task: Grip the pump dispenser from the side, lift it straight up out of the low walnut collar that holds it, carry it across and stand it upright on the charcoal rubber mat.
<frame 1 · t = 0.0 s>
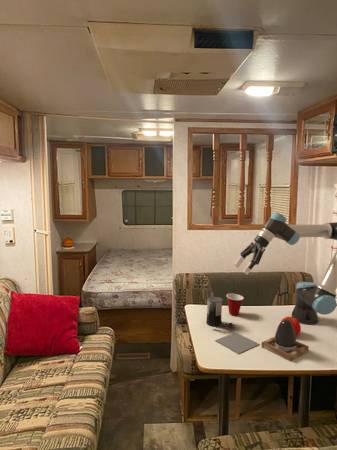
hand: (240, 269, 170), 36 cm above the table, tool tilted 35°, fingers open, 13 cm apart
pump dispenser: (284, 349, 158), resting in walnut collar
rubber mat: (236, 342, 163), on the table
plastic cup: (234, 314, 200), on the table
walnut collar: (284, 348, 158), on the table
tomato: (289, 334, 174), on the table
milk frother: (220, 325, 184), on the table
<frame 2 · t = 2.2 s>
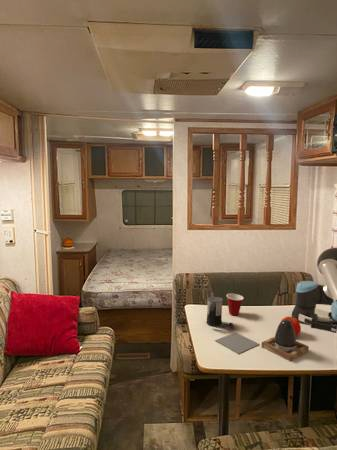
hand: (307, 313, 147), 22 cm above the table, tool horizontal, fingers open, 13 cm apart
nothing on the table moved.
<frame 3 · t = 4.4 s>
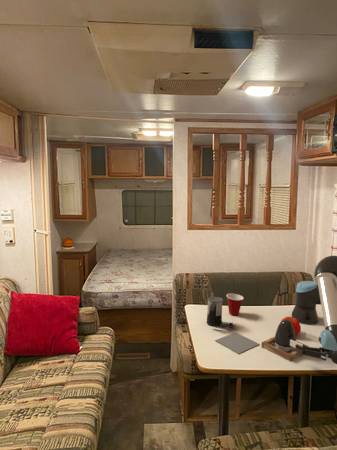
hand: (298, 338, 151), 9 cm above the table, tool horizontal, fingers open, 13 cm apart
nothing on the table moved.
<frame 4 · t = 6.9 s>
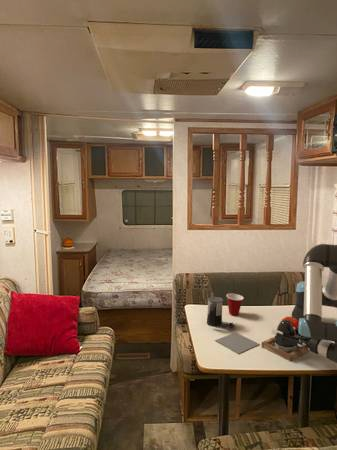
hand: (277, 328, 160), 9 cm above the table, tool horizontal, fingers closed on pump dispenser, 9 cm apart
pump dispenser: (284, 349, 158), resting in walnut collar, touching gripper
everything else where it was.
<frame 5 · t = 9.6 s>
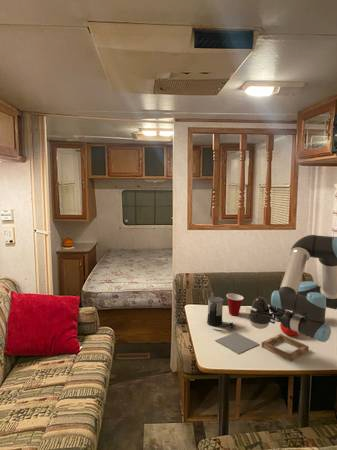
hand: (252, 306, 160), 20 cm above the table, tool horizontal, fingers closed on pump dispenser, 9 cm apart
pump dispenser: (259, 327, 158), point 11 cm above the table, touching gripper
everything else where it was.
when the fingers open (11 cm above the table, at t = 12.5 s): pump dispenser drops 1 cm, resting on rubber mat.
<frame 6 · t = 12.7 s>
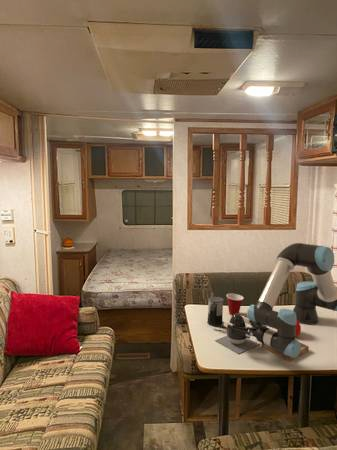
hand: (232, 320, 165), 11 cm above the table, tool horizontal, fingers open, 11 cm apart
pump dispenser: (236, 342, 163), resting on rubber mat
everything else where it was.
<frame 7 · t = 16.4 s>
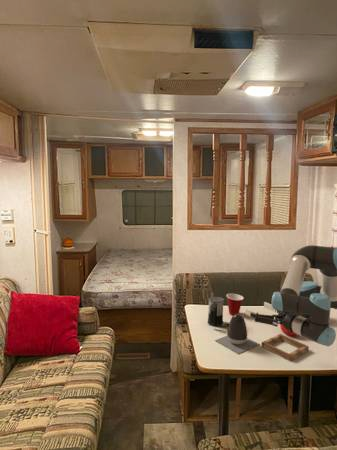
hand: (255, 307, 152), 23 cm above the table, tool horizontal, fingers open, 13 cm apart
nothing on the table moved.
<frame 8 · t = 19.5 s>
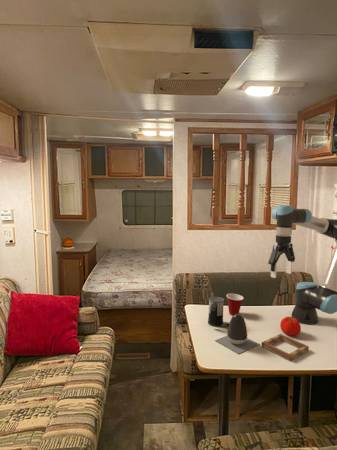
hand: (281, 275, 165), 35 cm above the table, tool pointing down, fingers open, 13 cm apart
nothing on the table moved.
at the end: pump dispenser inside the target area on the rubber mat (0.2 cm from its centre), point 0.2 cm above the rubber mat's base; pump dispenser tilted 0°; the gripper is holding nothing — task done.
